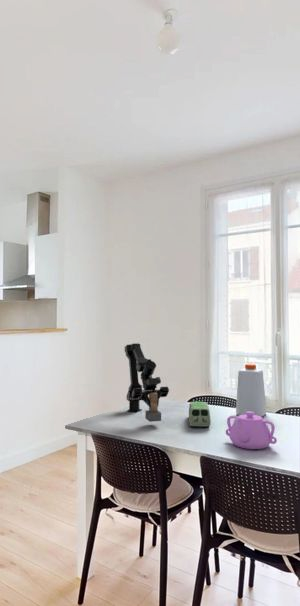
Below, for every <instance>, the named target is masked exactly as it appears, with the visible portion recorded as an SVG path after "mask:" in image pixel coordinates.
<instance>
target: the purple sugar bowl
mask: <svg viewBox="0 0 300 606" xmlns="http://www.w3.org/2000/svg"><path fill="white" fill-rule="evenodd" d="M231 419H234V421H233V423H232V425H231ZM226 423H227V429H225V434H226V436H228V437H229V439H230V442H231V443H232V444H233V445H234V446H236V447H238V448H242V449H245V450H254V449H258V450H263V449H266V448H268V446H269V445H270V444H272V445H274V444H276V443H277V441H278V439H277V437H276V436H274V433H275V424H274V423H273V422H272V421H270V420H269V419H268V420H265V419H264V418H263V417H260V416H257V415H254V412H250V411H248V412H246V414H245V415H237V416H236V415H230V416H228V418H227V419H226ZM269 425H270V428H271V430H270V428H269Z"/></svg>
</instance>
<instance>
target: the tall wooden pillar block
mask: <svg viewBox="0 0 300 606" xmlns="http://www.w3.org/2000/svg"><path fill="white" fill-rule="evenodd" d="M148 397H149V400H150V403H151V407H149V406H148V409H147V410H144V411H145V413H144V414H145V417H144V418H145V419H146V420H147V421H148V422H150V423H152V422H153V423H154V422H162V412H161V411H159V410H158V409H159V405H158V394H157V393H149V395H148Z"/></svg>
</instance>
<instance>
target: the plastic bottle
mask: <svg viewBox="0 0 300 606" xmlns="http://www.w3.org/2000/svg"><path fill="white" fill-rule="evenodd" d="M237 372H238V373H237V388H236V406H235V407H236V408H235V413H236V415H237V416H239V415H245V414H246V412H248V411H250V412H254V415H257V416H260V417H262V418H263V417H264V416H265V415H266V413H267V405H266V404H267V403H266V393H265V392H266V391H265V380H264V372H263V370H262V369H260V368H259V369H258V368H257V365H256V364H254V363H246V364H245V365H244V368H241V369H239V370H238V371H237Z"/></svg>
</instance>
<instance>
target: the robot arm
mask: <svg viewBox="0 0 300 606" xmlns="http://www.w3.org/2000/svg"><path fill="white" fill-rule="evenodd" d="M124 353H125V356H126V357H127V359H128V365H129V377H130V378H129V379H130V385H129V386H128V390H127V394H126V400H127V401H128V402H129V403H128V404H129V406H128V409H126V411H127V412H132V413H137V412H140V411H142V410H143V409H142V408H140V407H141V406H140V402H141V401H143V402H144V403H145V404H146V405H147V406H148V408H149V407H151V403H150V400H149V393H157V394H158V406H159V403H160V399H161V398H165V397H167V396H168V394H169V392H170V388H169V387H168V386H160V388H159V389H157V385H160V384H161V382H162V381H161V377H160V376H156V377H153V375H154V374H155V370H156V368H157V364H156V362H154V361H153V360H152V359H149V358H146V357H145V355H144V352H143V349H142V348H141V344H140V343H131V344H126V345H124ZM139 373H140V380H141V383H142V384H141V383H140V382H139Z"/></svg>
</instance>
